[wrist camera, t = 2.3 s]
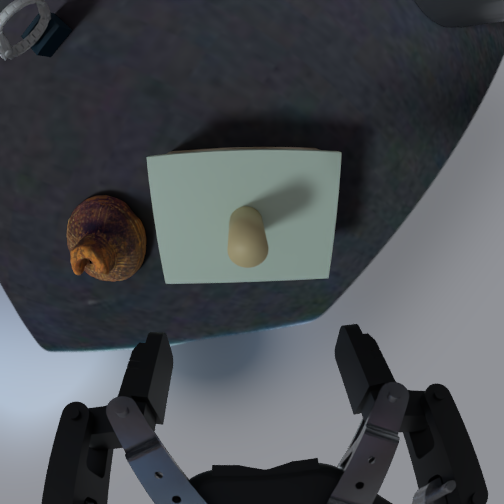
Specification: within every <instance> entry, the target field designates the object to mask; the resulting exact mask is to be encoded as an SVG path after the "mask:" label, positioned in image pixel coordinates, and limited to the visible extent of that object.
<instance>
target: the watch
mask: <svg viewBox="0 0 504 504" xmlns="http://www.w3.org/2000/svg"><path fill="white" fill-rule="evenodd" d="M33 3H36V4H37V6H38V9H39V14H38V15H37V16H36V17H35V19H34V20H33V21H32V23H31V24H30V25H29V26H28V28H27V29H26V30H25V32H24V33H23V35H22V36H21V37H22V38H23V39H24V40H22V41H20V42H19V43H18V44H16V45H14V46H11V44H10V42H9V41H8V39H7V37H6V36H5V34H4V33H3V31H2V28H3V26H4V25H5V24H6V22H7V21H8V19H10V18H11V17H12V16H13V15H14V14H15V12H17V11H19V10H20V9H22V7H25V6H27V5H29V4H33ZM14 11H15V12H14ZM6 12H7V13H8V14H9V15H8V14H7V13H6ZM71 32H72V30H71V29H70V28H69V27H68V26H67V25H66V24H65V23H64V22H63V21H62V20H61V19H60V18H59V17H58V16H57V15H56V14H54V13H51V12H50V9H49V7H48V5H47V3H46V2H45V1H44V0H17V1H16V0H15V1H14V2H12V3H11V4H9V5H8V6H7V7H6V8H5V9H4V10H3V11H2V12H1V13H0V56H1V57H2V59H4V60H5V61H6V60H7V58H9V59H13V58H14V57H17V56H19V55H21V54H22V53H23V52H26V51H27V50H28V49H29V48H31V49H32V50H33V51H34V52H35V53H36V55H40V56H47V57H51V56H52V55H53V54H54V52H55V51H56V50H57V49H58V47H59V46H60V45H61V44H62V42H63V41H64V40H65V39H66V38H67V36H68V35H69V34H70V33H71Z"/></svg>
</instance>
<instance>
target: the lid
mask: <svg viewBox="0 0 504 504" xmlns="http://www.w3.org/2000/svg"><path fill="white" fill-rule="evenodd" d="M341 155H342V153H341V152H339V151H325V150H301V149H237V150H213V151H197V152H184V153H173V154H162V155H153V156H148V157H147V166H148V175H149V184H150V192H151V200H152V207H153V214H154V221H155V227H156V234H157V240H158V246H159V251H160V257H161V262H162V267H163V272H164V277H165V282H166V284H180V283H226V282H257V281H281V280H303V279H322V278H328V277H329V270H330V263H331V256H332V249H333V241H334V233H335V224H336V215H337V205H338V195H339V183H340V170H341Z"/></svg>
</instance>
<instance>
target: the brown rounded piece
mask: <svg viewBox="0 0 504 504" xmlns="http://www.w3.org/2000/svg"><path fill="white" fill-rule="evenodd" d="M95 198H96V199H95ZM106 203H107V204H106ZM80 207H81V208H80ZM100 217H101V218H100ZM104 228H105V229H104ZM82 231H83V232H82ZM139 238H140V239H139ZM67 244H68V248H69V251H70V253H71V260H70V261H71V265H72V269H73V271H74V273H75V274H76V275H80V274H82V273H83V271H85V272H86V273H88V274H89V275H90V276H92V277H95V278H97V279H99V280H103V281H119V280H125V279H127V278H129V277H131V276H132V275H133V274H135V273H136V272H137V271H138V270H139V268H140V267H141V265H142V263H143V260H144V256H145V253H146V235H145V229H144V226H143V224H142V222H141V220H140V219H139V218H138V217H137V216H136V215H135V214H134V212H133V211H132V210H131V209H130V208H129V206H128V205H127V204H126V203H125V202H123V201H122V200H120V199H118V198H115V197H111V196H108V195H102V196H100V195H99V196H94V197H91V198H88V199H86V200H85V201H83V202H82V203H81V204H79V205H78V206H77V207H76V208H75V209H74V211H73V213H72V215H71V217H70V219H69V222H68V227H67ZM118 254H119V255H118ZM118 256H119V257H118ZM88 259H89V260H90V261H91V262H92V263H93V264H90V262H89V260H88Z"/></svg>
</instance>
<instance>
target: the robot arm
mask: <svg viewBox="0 0 504 504" xmlns="http://www.w3.org/2000/svg"><path fill="white" fill-rule="evenodd" d="M415 2H416V3H417V5H418V6H419V7H420V9H421V10H422V11H423V12H424V13H425V14H426V15H427V16H428V17H429V18H430V19H431V20H433V21H434V22H436V23H437V24H439V25H441V26H444V27H455V26H459V27H466V26H472V25H479V24H486V23H494V22H503V21H504V0H415ZM335 359H336V362H337V365H338V368H339V371H340V374H341V377H342V379H343V383H344V386H345V389H346V392H347V395H348V398H349V401H350V404H351V407H352V410H353V414H359V413H362V416H363V419H362V421H361V423H360V425H359V428H358V429H357V432H356V434H355V436H354V438H353V440H352V442H351V444H350V446H349V448H348V450H347V451H346V453H345V455H344V456H343V458H342V459H341V461H340V463H339V464H338V466H337V467H335V466H332V465H328V464H323V463H318V458H314V459H308V460H301V461H292V462H290V463H287V464H284V465H281V466H277V467H274V468H271V469H267V470H262V469H257V468H250V467H245V466H240V465H212V470H210V471H206V472H203V473H201V474H198V475H196V476H194V477H192V478H191V479H190V480H189V479H188V478H187V477H186V475H185V474H184V472H183V471H182V470H181V469H180V467H179V466H178V465H177V464H176V462H175V461H174V459H173V458H172V457H171V455H170V454H169V452H168V451H167V450H166V448H165V447H164V445H163V444H162V443H161V441H160V440H159V438H158V436H157V435H156V433H155V432H154V431H155V425H156V424H163V422H164V416H165V409H166V403H167V397H168V391H169V386H170V380H171V374H172V369H173V355H172V351H171V348H170V345H169V341H168V338H167V335H166V333H157V332H150V333H149V334H148V337H147V340H146V343H139V344H138V345H137V346H136V347H135V348H134V350H133V351H132V354H131V357H130V361H129V363H128V366H127V369H126V372H125V375H124V378H123V382H122V385H121V388H120V391H119V394H118V397H116V398H114V399H112V400H111V401H110V402H109V403H108V405H107V406H103V407H96V408H87V407H86V405H85V404H83V403H81V402H72V403H70V404H68V405H67V406H66V407H65V408H64V410H63V412H62V415H61V418H60V422H59V425H58V429H57V432H56V436H55V440H54V444H53V448H52V452H51V456H50V460H49V465H48V469H47V474H46V480H45V485H44V491H43V497H42V504H107V500H108V489H109V479H110V471H111V463H112V456H113V449H115V448H123V449H124V450H125V453H126V454H125V456H126V459H127V461H128V462H129V464H130V466H131V468H132V469H133V471H134V472H135V474H136V476H137V478H138V479H139V481H140V482H141V484H142V485H143V487H144V489H145V490H146V492H147V493H148V495H149V496H150V498H151V499H152V500H153V502H154V503H155V504H392V503H390V502H389V501H387V500H386V499H384V498H383V497H381V496H379V495H378V494H377V493H378V491H379V489H380V487H381V485H382V483H383V480H384V478H385V476H386V474H387V471H388V469H389V467H390V464H391V462H392V459H393V456H394V454H395V451H396V448H397V446H398V443H399V437H398V432H403V434H404V437H405V440H406V444H407V447H408V450H409V454H410V457H411V461H412V465H413V468H414V472H415V475H416V480H417V484H418V487H419V490H417V492H416V493H415V495H414V497H413V503H412V504H486V502H487V499H488V491H487V487H486V484H485V480H484V478H483V474H482V471H481V468H480V465H479V462H478V459H477V456H476V454H475V451H474V448H473V445H472V443H471V440H470V437H469V435H468V432H467V430H466V428H465V425H464V423H463V420H462V418H461V416H460V413H459V411H458V409H457V407H456V404H455V402H454V400H453V398H452V396H451V394H450V392H449V390H448V389H447V388H446V387H445V386H443V385H441V384H432V385H430V386H429V387H428V388H427V389H426V391H410V390H407V389H406V388H405V387H404V386H403V385H402V384H400V383H397V382H396V381H395V380H394V378H393V375H392V373H391V371H390V369H389V368H388V365H387V363H386V361H385V359H384V357H383V355H382V353H381V351H380V350H379V347H378V345H377V343H376V341H375V340H374V339H373V338H372V337H371V336H370V335H369V334H362V331H361V329H360V327H359V326H358V325H357V324H353V325H345V326H341V328H340V331H339V335H338V339H337V343H336V346H335Z"/></svg>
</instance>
